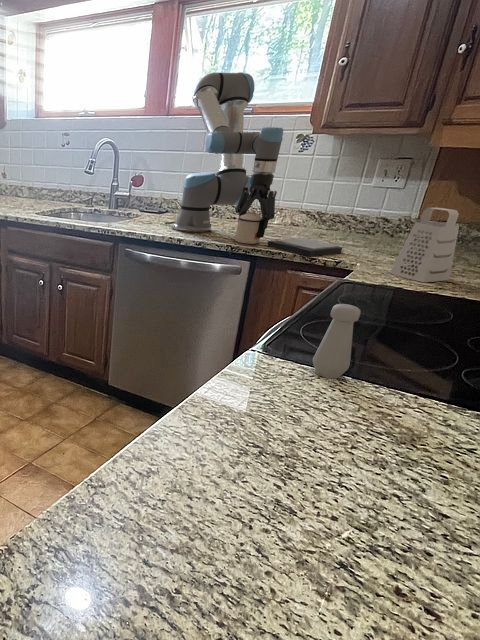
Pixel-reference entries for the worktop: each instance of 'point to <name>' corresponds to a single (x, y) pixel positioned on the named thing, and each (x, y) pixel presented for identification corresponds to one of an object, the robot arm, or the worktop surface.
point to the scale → (305, 247)
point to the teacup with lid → (248, 228)
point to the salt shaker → (336, 342)
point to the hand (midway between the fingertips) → (249, 234)
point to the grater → (429, 249)
